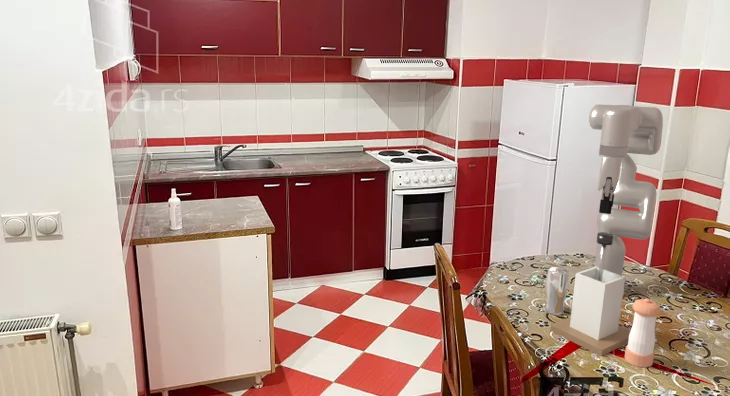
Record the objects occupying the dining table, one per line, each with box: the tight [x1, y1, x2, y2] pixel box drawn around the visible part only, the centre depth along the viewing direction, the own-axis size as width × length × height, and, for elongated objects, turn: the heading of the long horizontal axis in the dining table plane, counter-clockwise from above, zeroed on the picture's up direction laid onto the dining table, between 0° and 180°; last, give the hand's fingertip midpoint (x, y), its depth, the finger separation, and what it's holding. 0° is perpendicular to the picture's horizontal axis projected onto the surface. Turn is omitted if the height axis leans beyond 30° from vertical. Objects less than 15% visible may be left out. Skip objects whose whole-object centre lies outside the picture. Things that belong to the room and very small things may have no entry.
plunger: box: [596, 232, 614, 282], centre depth 167 cm, size 8×8×20 cm
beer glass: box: [544, 266, 570, 316], centre depth 186 cm, size 7×7×15 cm
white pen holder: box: [549, 266, 631, 357], centre depth 170 cm, size 18×18×20 cm
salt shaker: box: [624, 298, 662, 368], centre depth 156 cm, size 7×7×19 cm
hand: (606, 209), depth 165 cm, fingers open, 7 cm apart
